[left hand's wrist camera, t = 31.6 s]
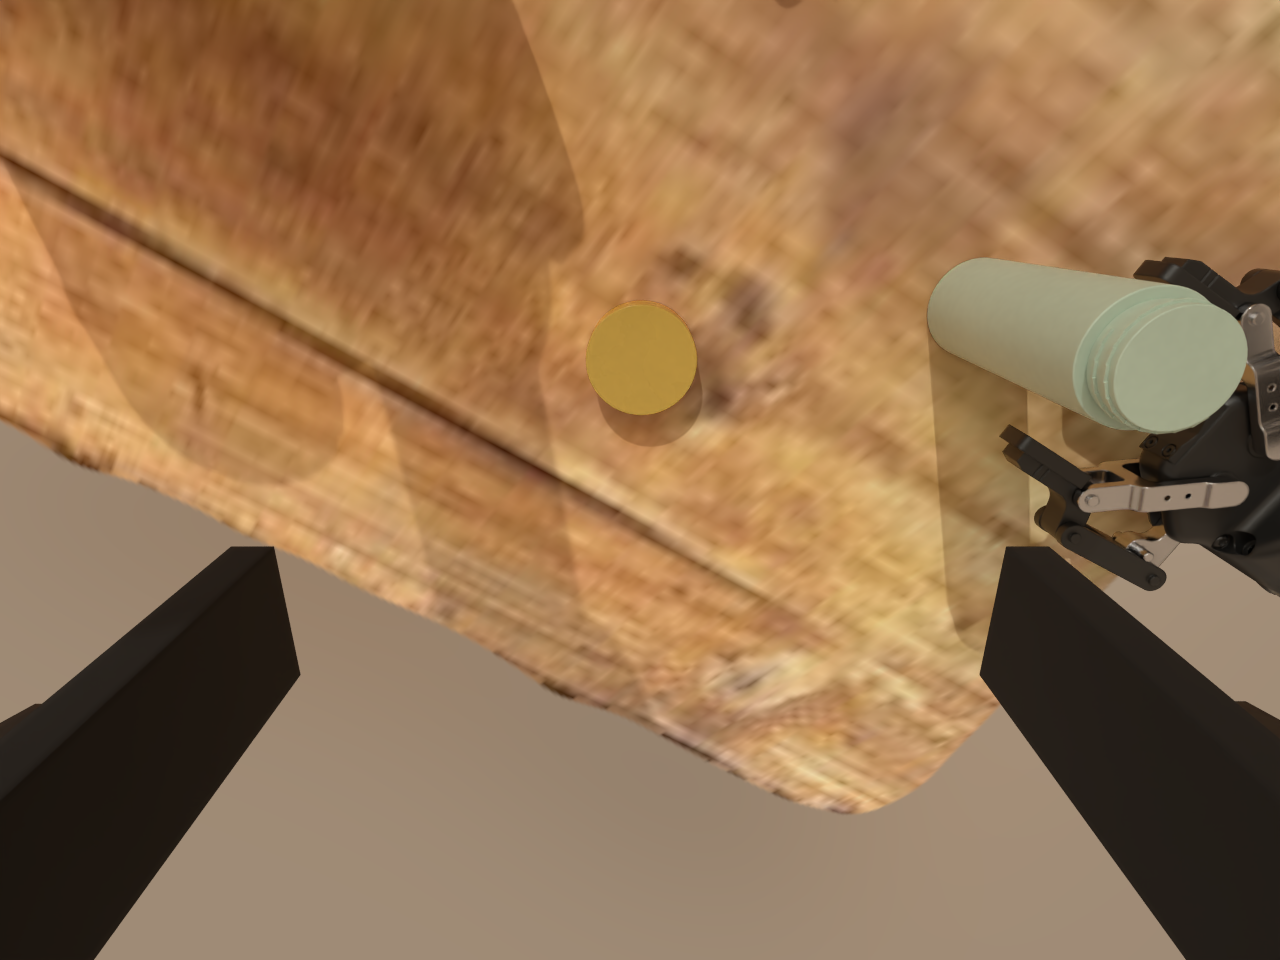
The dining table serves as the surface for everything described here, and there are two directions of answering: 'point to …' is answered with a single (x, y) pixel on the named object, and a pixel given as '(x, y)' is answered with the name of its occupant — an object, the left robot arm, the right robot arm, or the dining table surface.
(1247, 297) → the right robot arm
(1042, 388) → the jar
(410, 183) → the dining table surface
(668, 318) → the lid
